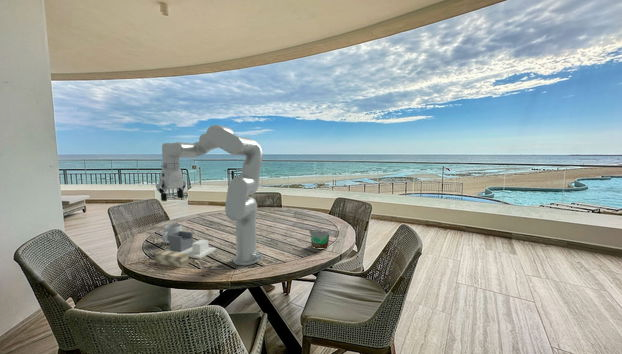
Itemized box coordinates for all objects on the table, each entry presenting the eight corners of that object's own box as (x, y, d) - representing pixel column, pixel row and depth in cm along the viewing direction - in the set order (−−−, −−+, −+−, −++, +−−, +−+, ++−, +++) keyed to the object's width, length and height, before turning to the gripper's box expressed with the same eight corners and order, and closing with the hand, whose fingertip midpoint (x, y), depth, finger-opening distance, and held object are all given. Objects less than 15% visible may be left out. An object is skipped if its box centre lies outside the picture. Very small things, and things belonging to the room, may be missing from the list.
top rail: (188, 264, 111) (188, 254, 111) (181, 267, 107) (181, 257, 107) (163, 259, 116) (162, 250, 115) (155, 263, 112) (155, 253, 112)
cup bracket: (216, 249, 128) (215, 233, 127) (199, 258, 116) (199, 241, 116) (182, 244, 135) (181, 229, 134) (163, 252, 124) (162, 236, 123)
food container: (306, 249, 129) (306, 231, 129) (309, 245, 135) (309, 228, 134) (328, 251, 126) (329, 233, 126) (330, 247, 132) (330, 230, 132)
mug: (171, 239, 144) (171, 223, 143) (185, 240, 143) (184, 224, 142) (156, 247, 132) (155, 229, 131) (170, 247, 131) (170, 230, 130)
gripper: (161, 167, 112) (162, 202, 114) (190, 166, 129) (191, 197, 130) (149, 167, 115) (151, 201, 116) (179, 166, 131) (181, 196, 132)
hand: (172, 199), depth 123 cm, fingers open, 9 cm apart
